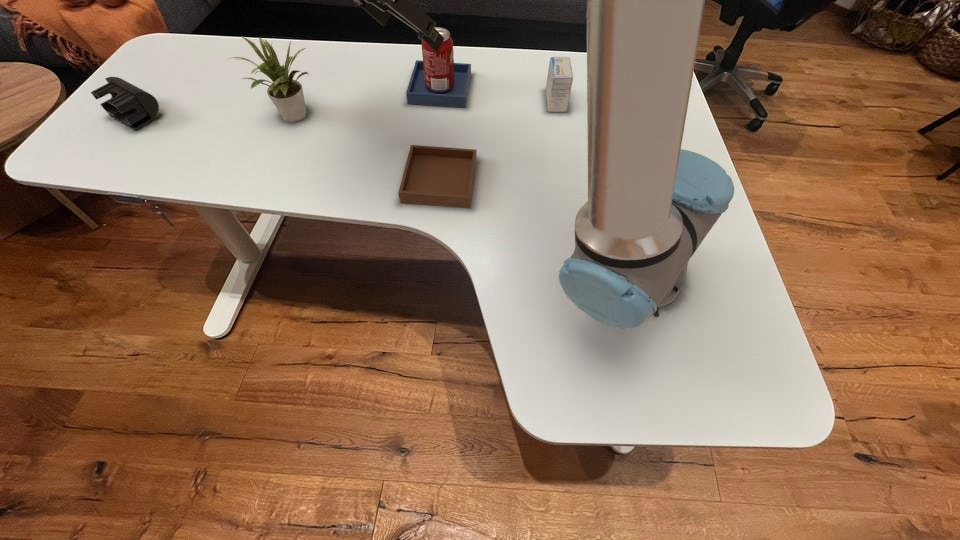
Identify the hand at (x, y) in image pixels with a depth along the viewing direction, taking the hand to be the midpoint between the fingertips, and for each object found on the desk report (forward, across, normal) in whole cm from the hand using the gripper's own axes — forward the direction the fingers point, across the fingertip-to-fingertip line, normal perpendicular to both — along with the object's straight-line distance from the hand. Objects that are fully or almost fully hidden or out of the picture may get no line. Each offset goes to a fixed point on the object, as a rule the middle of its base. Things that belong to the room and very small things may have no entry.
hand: (412, 31), depth 82 cm
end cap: (-12, -46, -42) cm, 64 cm away
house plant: (+1, -22, -26) cm, 34 cm away
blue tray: (+20, -2, -4) cm, 20 cm away
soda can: (+19, -2, -4) cm, 20 cm away
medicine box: (+28, +21, +6) cm, 36 cm away
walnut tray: (+4, +18, -22) cm, 28 cm away
